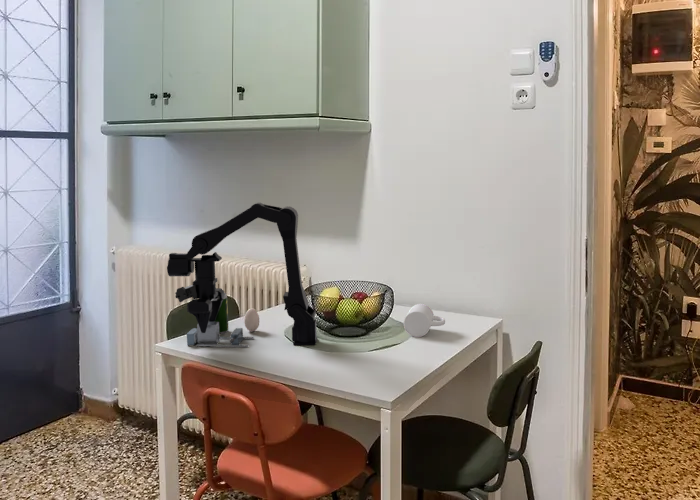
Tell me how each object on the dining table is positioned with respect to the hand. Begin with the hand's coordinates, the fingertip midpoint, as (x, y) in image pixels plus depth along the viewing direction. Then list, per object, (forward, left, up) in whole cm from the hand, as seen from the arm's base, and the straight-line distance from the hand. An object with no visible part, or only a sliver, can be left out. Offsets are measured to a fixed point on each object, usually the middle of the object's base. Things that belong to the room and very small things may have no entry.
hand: (207, 328), depth 190 cm
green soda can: (-1, -11, -5) cm, 12 cm away
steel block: (0, 0, -4) cm, 4 cm away
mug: (-64, -11, -5) cm, 65 cm away
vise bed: (-3, 0, -4) cm, 5 cm away
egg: (-11, -12, -5) cm, 17 cm away
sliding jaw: (-8, +2, -4) cm, 10 cm away
